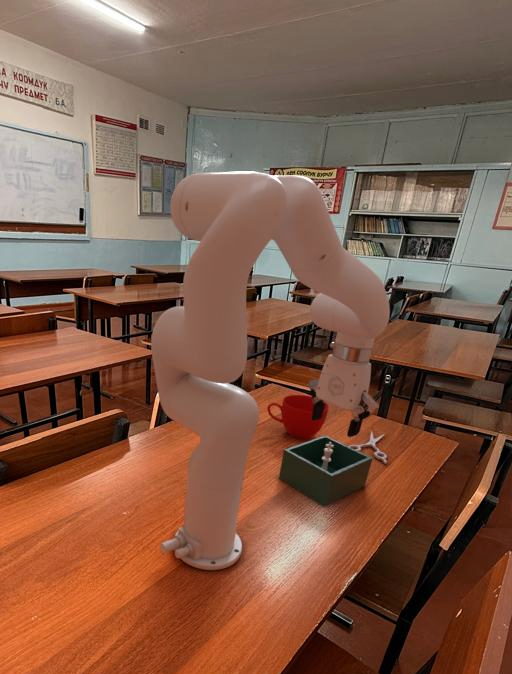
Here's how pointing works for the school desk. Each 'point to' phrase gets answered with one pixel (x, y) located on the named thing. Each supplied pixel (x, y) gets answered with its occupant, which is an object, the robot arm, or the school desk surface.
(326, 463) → the chess piece
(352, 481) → the bin
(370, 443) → the scissors
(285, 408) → the ceramic cup
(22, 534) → the school desk surface
